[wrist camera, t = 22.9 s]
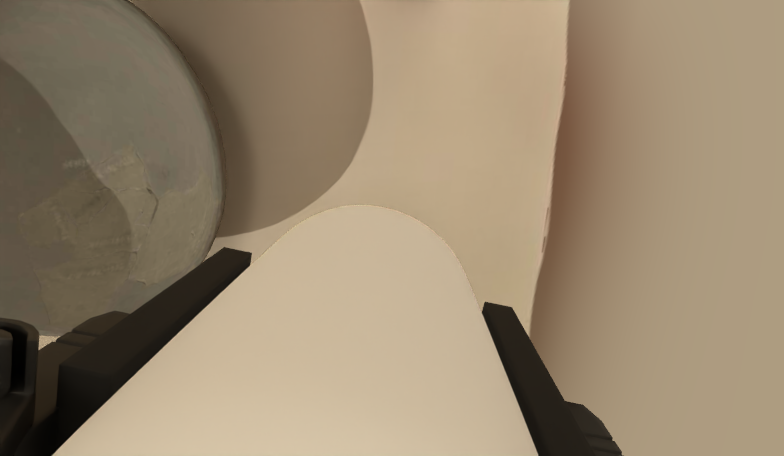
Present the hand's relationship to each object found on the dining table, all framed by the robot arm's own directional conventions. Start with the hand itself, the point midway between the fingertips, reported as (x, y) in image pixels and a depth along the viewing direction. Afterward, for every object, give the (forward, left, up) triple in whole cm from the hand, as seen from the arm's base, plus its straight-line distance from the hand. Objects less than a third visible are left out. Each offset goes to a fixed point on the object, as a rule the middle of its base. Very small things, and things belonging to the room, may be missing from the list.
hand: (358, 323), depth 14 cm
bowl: (+25, +3, -31) cm, 40 cm away
